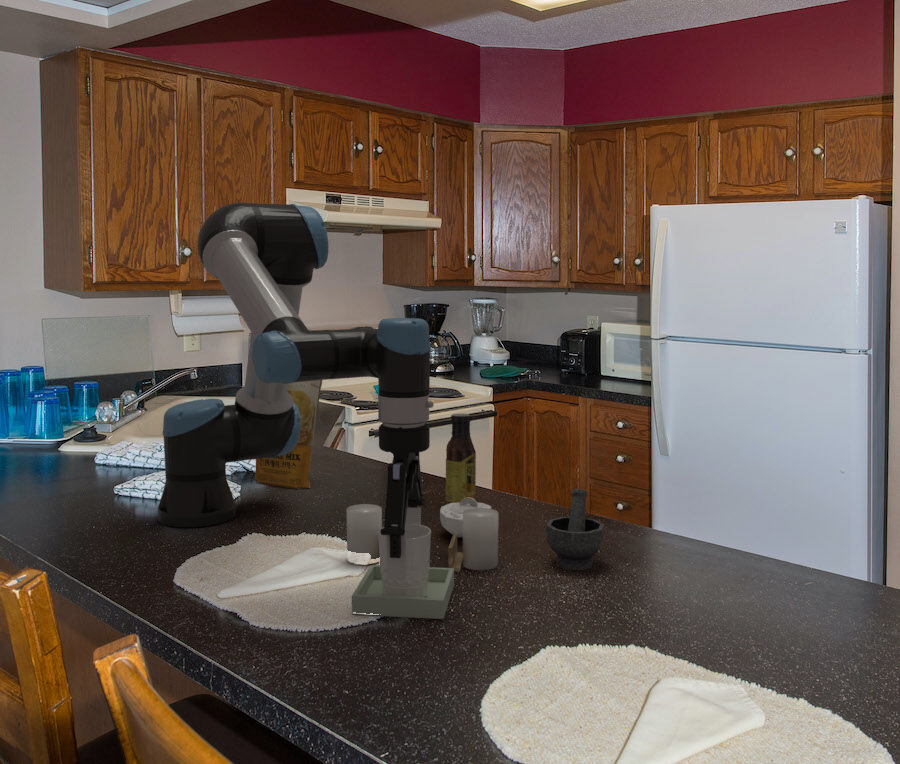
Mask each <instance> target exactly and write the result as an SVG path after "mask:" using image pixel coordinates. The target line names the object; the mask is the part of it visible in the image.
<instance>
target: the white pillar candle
mask: <svg viewBox="0 0 900 764" xmlns="http://www.w3.org/2000/svg"><path fill="white" fill-rule="evenodd" d="M462 552H463V563H462V566H463V567H465V568H466V569H468V570H472V571H489V570H493V569H496V568H497V567H498V566H499V511H497V509H493V508H491V509H488V508H472V509H467V510H465V511H463V537H462Z"/></svg>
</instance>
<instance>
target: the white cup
mask: <svg viewBox="0 0 900 764" xmlns="http://www.w3.org/2000/svg"><path fill="white" fill-rule="evenodd" d="M392 526H398V525H392ZM383 528H384V526H382V528H381V529H383ZM381 529H379V531H378V535H379V553H380V569H381V578H382V584H383V596H400V597H422V598H425V597H426V596H427V585H428V576H429V567H430V566H431V565H430V562H431V561H430V559H431V543H432V541H431V539H432V530H431V528H429V527H428V526H426V525H423V524H421V525H419V524H411V523H405V533H406V579H396V578H387V535H381Z"/></svg>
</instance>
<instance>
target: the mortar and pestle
mask: <svg viewBox="0 0 900 764" xmlns="http://www.w3.org/2000/svg"><path fill="white" fill-rule="evenodd" d="M571 496H572V500H571V506H570V512H569V513H570V514H569V516H560V517H556V518H551V519H549V520H548V521H547V523H546V526H545V527H546V529H545V530H546V531H545V533H546V539H547V540H546V541H547V543H548V545H549V547H550V549H551V550H552V551H553V552H554V553H555V554H556V555H557V557H556V561H555V562H556V563H555V564H556V565H557V566H558V567H560V568H562V569H566V570H569V571H570V570H572V571H579V570H580V571H585V570H586V569H590V568H592V566H593V564H594V561H593V557H594V555H596V554H597V553H598V551H599V549H600V547H601V545H602V543H603V538H604V533H605V524H604V523H603V522H601V521H599V520H597V519H595V518H594V519H593V518H589V517H588V518H587V517H586V510H587V509H586V505H587V504H586V503H587V500H586V499H587V497H588V491H587V490H585V489H582V488H575V489H573V490H571Z"/></svg>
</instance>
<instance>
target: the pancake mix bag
mask: <svg viewBox="0 0 900 764" xmlns="http://www.w3.org/2000/svg"><path fill="white" fill-rule="evenodd" d="M322 384H323V380H315V381H304V382H293V383H289V384H288V391H287V392H288V393H289V394H290V395H291V396H292V398H293V402H294V403H295V404H296V405H297V407H298V409H299V412H300V417H301V419H300V423H301V431H300V436H299V440H298V442H297V444H296V446H295V448H294V449H293V450H292V451H291V452H290V453H288V454H286V455H281V456H276V457H274V458H259V459H255V473H254V474H255V475H254V478H253V479H254V480H255V481H257V482H258V484H263V485H268V486H272V487H273V486H274V487H281V488H282V487H283V488H286V489H293V490H301V489H311V482H310V477H309V474H310V468H311V463H312V462H311V461H312V458H313V457H312V456H313V448H314V447H313V446H314V440H315V433H316V428H317V427H316V425H317V419H318V416H319V404H320V396H321V389H322V386H323V385H322Z"/></svg>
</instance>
